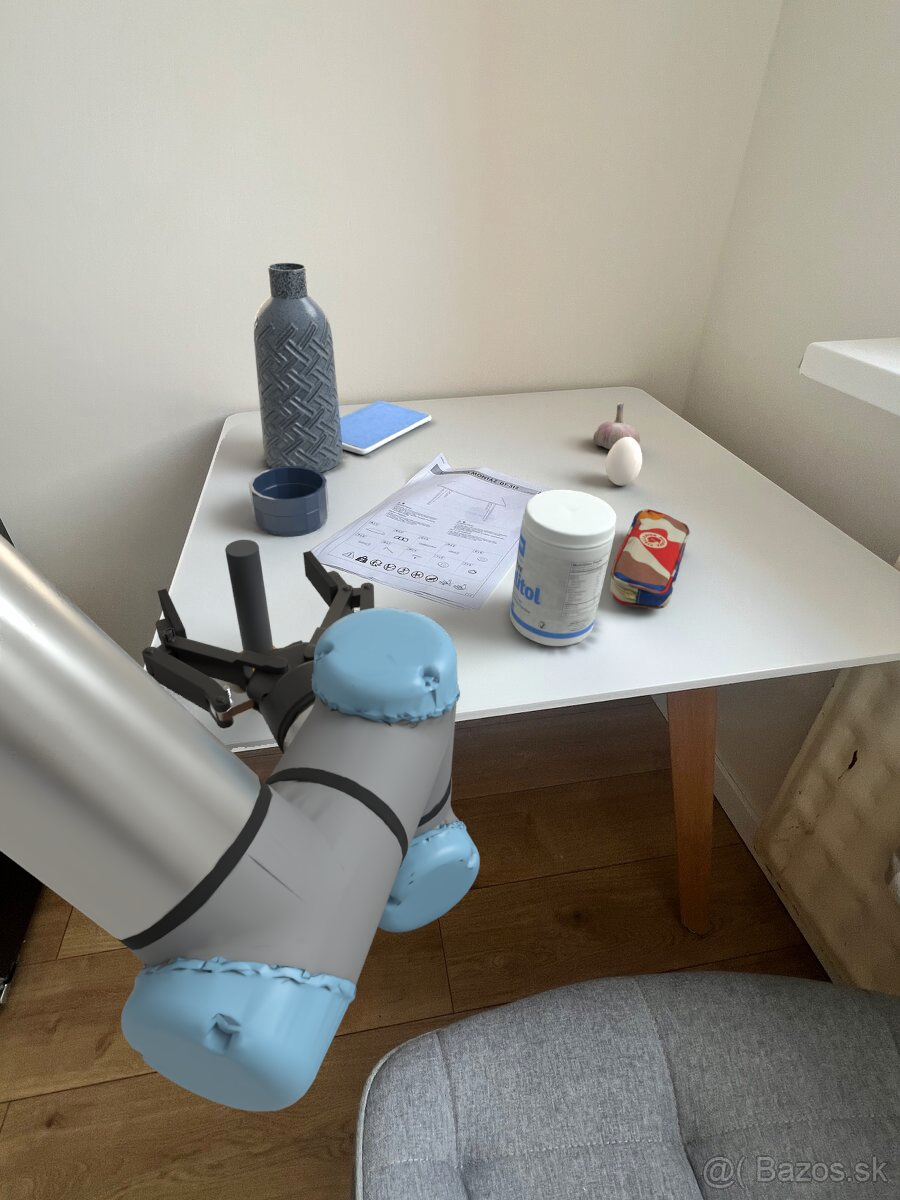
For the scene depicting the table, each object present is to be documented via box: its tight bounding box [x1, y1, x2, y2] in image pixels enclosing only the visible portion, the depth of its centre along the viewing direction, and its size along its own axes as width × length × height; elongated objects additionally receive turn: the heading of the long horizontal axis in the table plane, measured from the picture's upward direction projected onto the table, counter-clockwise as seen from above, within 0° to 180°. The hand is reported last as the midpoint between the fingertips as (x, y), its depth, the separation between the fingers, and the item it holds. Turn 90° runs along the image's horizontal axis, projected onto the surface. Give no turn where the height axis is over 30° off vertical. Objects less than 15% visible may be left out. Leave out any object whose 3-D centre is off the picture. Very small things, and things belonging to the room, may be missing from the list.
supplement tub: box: [509, 489, 617, 647], centre depth 75 cm, size 10×10×15 cm
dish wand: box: [224, 539, 277, 672], centre depth 65 cm, size 4×4×16 cm
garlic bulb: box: [592, 401, 641, 451], centre depth 117 cm, size 8×7×8 cm
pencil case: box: [609, 508, 691, 610], centre depth 87 cm, size 11×20×5 cm, turn 142°
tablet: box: [340, 400, 433, 455], centre depth 121 cm, size 19×13×1 cm, turn 146°
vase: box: [253, 262, 344, 473], centre depth 103 cm, size 12×12×28 cm
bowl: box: [248, 466, 330, 537], centre depth 94 cm, size 10×10×6 cm
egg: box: [605, 437, 643, 486], centre depth 106 cm, size 5×5×8 cm
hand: (239, 581), depth 66 cm, fingers open, 13 cm apart
